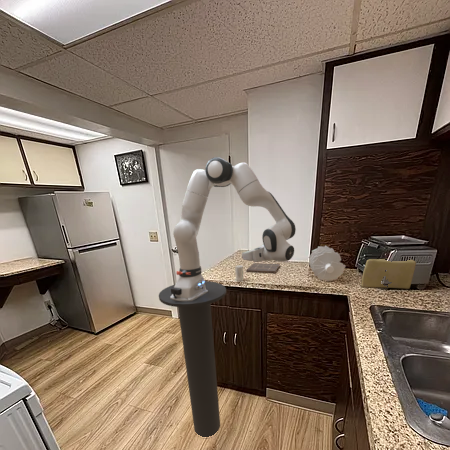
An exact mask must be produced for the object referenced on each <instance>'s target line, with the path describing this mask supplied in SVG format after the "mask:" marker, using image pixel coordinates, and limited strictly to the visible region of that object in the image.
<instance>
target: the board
mask: <svg viewBox="0 0 450 450" xmlns="http://www.w3.org/2000/svg"><path fill="white" fill-rule="evenodd" d="M280 265H281V264H280V263H263V262H262V263H261V262H254V263H252V264H251V265H250V266H249V267H248V268H246V270H245V271H246V272H247V273H260V274H276V272H278V269H279V268H280Z"/></svg>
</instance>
